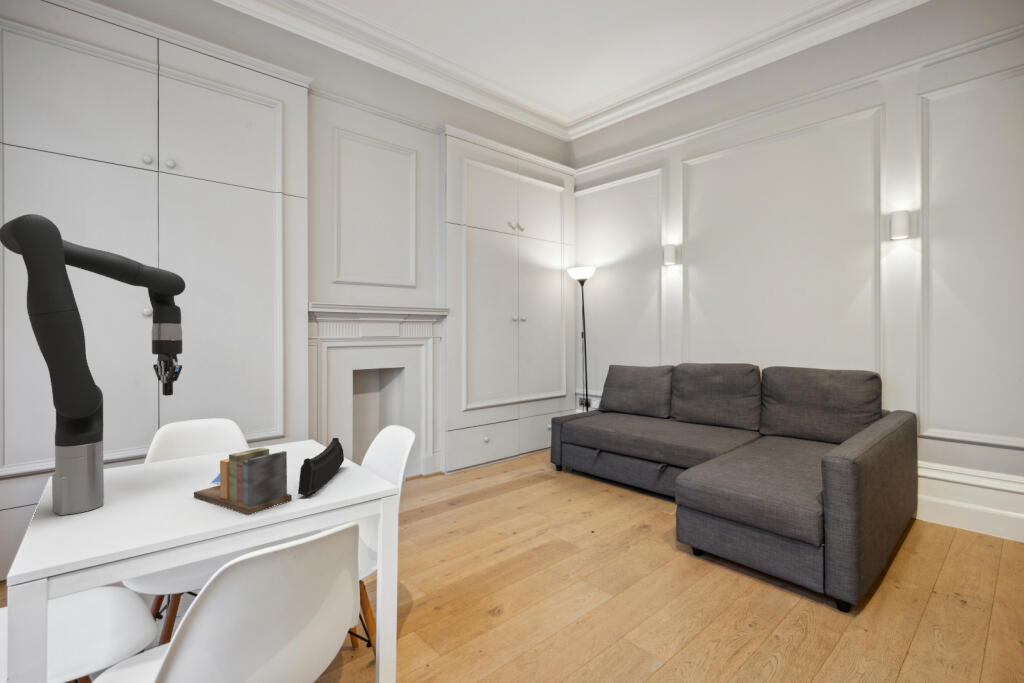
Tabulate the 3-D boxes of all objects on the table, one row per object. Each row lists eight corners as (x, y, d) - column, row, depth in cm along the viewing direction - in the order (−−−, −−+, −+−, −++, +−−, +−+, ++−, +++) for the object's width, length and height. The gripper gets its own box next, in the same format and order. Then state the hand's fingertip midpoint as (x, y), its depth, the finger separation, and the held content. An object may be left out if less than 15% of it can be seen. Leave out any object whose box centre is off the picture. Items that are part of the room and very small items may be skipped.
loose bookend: (226, 499, 123) (226, 462, 123) (220, 497, 124) (220, 460, 124) (263, 488, 131) (262, 453, 131) (256, 487, 133) (256, 452, 133)
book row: (248, 515, 116) (247, 461, 116) (193, 497, 129) (193, 449, 129) (291, 500, 127) (291, 451, 127) (237, 485, 140) (237, 440, 139)
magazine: (306, 468, 126) (340, 418, 154) (293, 469, 125) (330, 418, 154) (313, 521, 131) (345, 463, 159) (301, 522, 131) (335, 463, 159)
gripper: (142, 338, 142) (143, 395, 142) (163, 338, 135) (164, 398, 135) (170, 338, 148) (170, 392, 149) (191, 338, 142) (192, 395, 142)
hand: (167, 395), depth 142 cm, fingers closed
